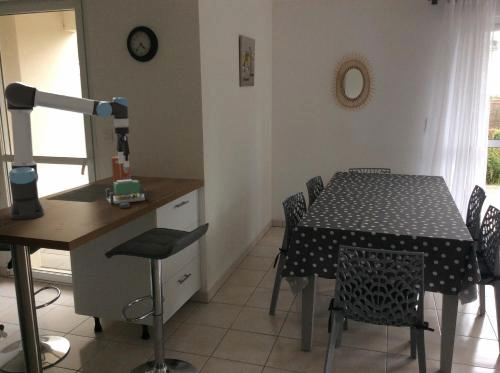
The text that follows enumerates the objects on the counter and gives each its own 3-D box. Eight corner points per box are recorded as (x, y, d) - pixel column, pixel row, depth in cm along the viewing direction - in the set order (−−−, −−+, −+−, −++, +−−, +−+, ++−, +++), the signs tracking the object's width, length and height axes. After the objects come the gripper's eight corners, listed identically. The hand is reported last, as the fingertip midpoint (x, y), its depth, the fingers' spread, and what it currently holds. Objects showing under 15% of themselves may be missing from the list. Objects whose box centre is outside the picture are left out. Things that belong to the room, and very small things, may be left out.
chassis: (111, 204, 248) (110, 193, 246) (106, 199, 259) (105, 189, 258) (147, 199, 257) (147, 189, 256) (141, 195, 268) (140, 185, 267)
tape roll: (121, 209, 238) (120, 205, 237) (119, 207, 242) (118, 203, 242) (130, 208, 240) (130, 204, 239) (128, 206, 244) (128, 202, 244)
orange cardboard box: (133, 188, 287) (122, 193, 272) (123, 188, 288) (111, 193, 274) (131, 154, 282) (119, 158, 268) (120, 154, 284) (108, 158, 269)
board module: (116, 195, 251) (115, 182, 250) (114, 192, 257) (113, 180, 256) (140, 192, 257) (139, 180, 256) (137, 190, 263) (136, 178, 262)
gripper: (134, 127, 240) (136, 167, 245) (123, 124, 262) (125, 161, 266) (119, 128, 237) (122, 168, 241) (110, 125, 259) (112, 162, 263)
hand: (123, 165), depth 254 cm, fingers open, 13 cm apart
